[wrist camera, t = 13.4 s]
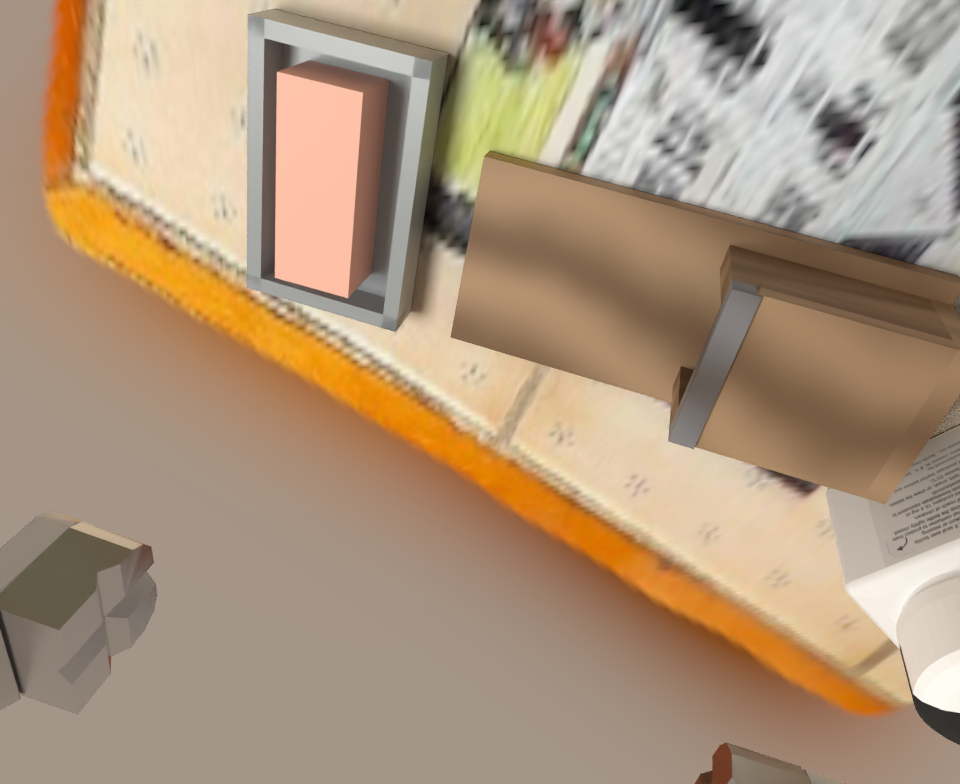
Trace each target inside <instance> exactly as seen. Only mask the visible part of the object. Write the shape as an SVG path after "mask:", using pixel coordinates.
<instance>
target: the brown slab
mask: <svg viewBox="0 0 960 784" xmlns="http://www.w3.org/2000/svg"><path fill="white" fill-rule="evenodd" d="M959 294H960V277H959V276H956V275H952V274H948V273H945V272H941V271H937V270H933V269H930V268H926V267H922V266H918V265H915V264H911V263H907V262H903V261H900V260H896V259H892V258H889V257H885V256H881V255H877V254H874V253H870V252H866V251H862V250H859V249H855V248H851V247H847V246H844V245H840V244H836V243H832V242H829V241H825V240H821V239H817V238H814V237H810V236H806V235H802V234H799V233H795V232H791V231H787V230H784V229H780V228H776V227H772V226H769V225H765V224H761V223H757V222H754V221H750V220H746V219H742V218H739V217H735V216H731V215H727V214H724V213H720V212H716V211H713V210H709V209H705V208H701V207H698V206H694V205H690V204H686V203H683V202H679V201H675V200H671V199H668V198H664V197H660V196H656V195H653V194H649V193H645V192H641V191H638V190H634V189H630V188H626V187H623V186H619V185H615V184H611V183H608V182H604V181H600V180H596V179H593V178H589V177H585V176H581V175H578V174H574V173H570V172H566V171H563V170H559V169H555V168H551V167H548V166H544V165H540V164H536V163H533V162H529V161H525V160H522V159H518V158H514V157H510V156H507V155H503V154H499V153H495V152H492V151H489V152H488V153H487V154H486V155H485V156H484V161H483V166H482V171H481V177H480V182H479V187H478V193H477V198H476V204H475V209H474V214H473V220H472V225H471V230H470V236H469V241H468V247H467V252H466V257H465V263H464V268H463V273H462V279H461V284H460V289H459V295H458V300H457V306H456V311H455V316H454V322H453V327H452V332H451V337H452V338H455V339H458V340H462V341H465V342H468V343H472V344H475V345H478V346H482V347H485V348H489V349H492V350H495V351H499V352H502V353H505V354H509V355H512V356H515V357H519V358H522V359H526V360H529V361H532V362H536V363H539V364H542V365H546V366H549V367H552V368H556V369H559V370H563V371H566V372H569V373H573V374H576V375H579V376H583V377H586V378H589V379H593V380H596V381H600V382H603V383H606V384H610V385H613V386H616V387H620V388H623V389H626V390H630V391H633V392H637V393H640V394H643V395H647V396H650V397H653V398H657V399H660V400H663V401H667V402H670V403H671V415H670V427H669V440H668V441H669V442H672V443H675V444H679V445H682V446H685V447H689V448H692V449H694V447H697V448H700V449H704V450H707V451H710V452H714V453H717V454H720V455H723V456H727V457H730V458H733V459H737V460H740V461H743V462H747V463H750V464H753V465H756V466H760V467H763V468H766V469H770V470H773V471H776V472H780V473H783V474H786V475H789V476H793V477H796V478H799V479H803V480H806V481H809V482H813V483H816V484H819V485H823V486H826V487H829V488H832V489H836V490H839V491H842V492H846V493H849V494H852V495H856V496H859V497H862V498H865V499H869V500H872V501H875V502H879V503H882V504H886V503H887V501H888V500H889V498H890V497H891V495H892V494H893V492H894V491H895V489H896V488H897V487H898V485H899V484H900V482H901V481H902V479H903V478H904V476H905V475H906V473H907V472H908V470H909V469H910V467H911V466H912V464H913V463H914V461H915V460H916V458H917V457H918V456H919V454H920V453H921V451H922V450H923V448H924V447H925V445H926V444H927V442H928V441H929V439H930V438H931V436H932V435H933V433H934V432H935V430H936V429H937V427H938V426H939V424H940V423H941V422H942V420H943V419H944V417H945V416H946V414H947V413H948V411H949V410H950V408H951V407H952V405H953V404H954V402H955V401H956V399H957V398H958V396H959V395H960V316H959V315H958V313H957V312H956V310H955V308H954V307H953V304H954V302H955V300H956V299H957V297H958V296H959Z"/></svg>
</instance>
